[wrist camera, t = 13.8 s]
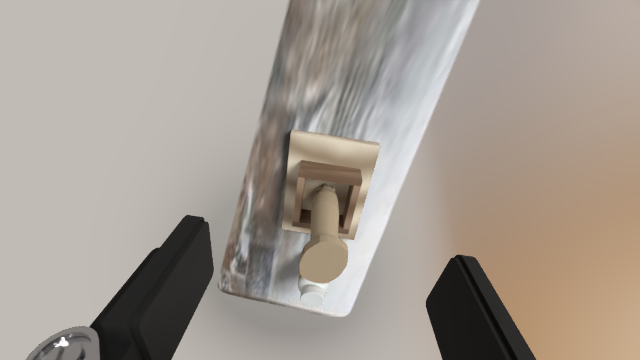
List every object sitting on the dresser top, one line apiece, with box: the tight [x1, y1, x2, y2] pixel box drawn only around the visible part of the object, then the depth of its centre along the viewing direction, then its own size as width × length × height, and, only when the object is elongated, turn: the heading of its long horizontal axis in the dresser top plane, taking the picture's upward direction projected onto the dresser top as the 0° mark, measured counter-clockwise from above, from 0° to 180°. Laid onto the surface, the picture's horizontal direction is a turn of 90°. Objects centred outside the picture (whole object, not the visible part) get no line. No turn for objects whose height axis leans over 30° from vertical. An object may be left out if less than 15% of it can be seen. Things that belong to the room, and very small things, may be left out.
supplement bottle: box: [298, 274, 329, 308], centre depth 46 cm, size 5×5×10 cm
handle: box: [299, 184, 348, 284], centre depth 34 cm, size 5×6×15 cm
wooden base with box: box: [282, 129, 380, 240], centre depth 40 cm, size 18×13×5 cm
